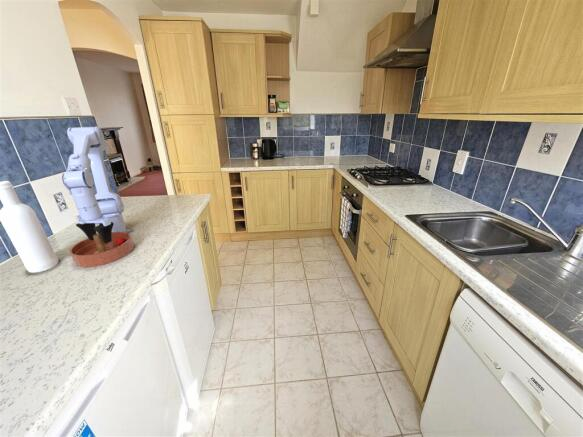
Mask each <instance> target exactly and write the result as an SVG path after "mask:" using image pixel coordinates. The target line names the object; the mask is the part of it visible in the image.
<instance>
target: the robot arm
mask: <svg viewBox="0 0 583 437" xmlns="http://www.w3.org/2000/svg"><path fill="white" fill-rule="evenodd" d="M66 134H67V138H68V139H69V142H71V144H72V145H73V154H70V155H69V157H68V160H67V161H68V162H67V168H66V169H67V170H66V171H65V172H64V173H62V174H61V181H62V184H63V186H64V188H65V189H66V190H67V192H68V194H69V195H70V196H71V197H72V199H73V201H74V204H75V207H76V209H77V211H78V214H79V215H76V216H75V219H76V221H77V222H78V223H76V224H75V226H76V227H77V228H78V229H80V230H81V231H82V232H83V233H84V234H85V235H86V237H87V238H89V239H90V240H91V241H92V240H94V238H93V235H95V234H99V235H100V236H101V238H102V240H103V242H104V243H105V244H107V243H109V242H111V241H112V232H126V233H129V232H130V231H132V229H130V228H127V227H126V224H125V220H124V217H123V212H124V211H125V207H124V206H125V204H124V202H123V200H122V197H121V195H119V194H118V193H116V192H114V191H112V190H111V189H112V188H111V185H110V181H109V176H108V172H107V168H106V164H105V160H104V154H103V152H104V151H105V150H107V143H106V139H105V135H104V132H103V130H102V129H101V127H99V126H84V127H83V126H82V127H79V126H78V127H71V126H70V127H68V128H67V130H66ZM93 186H95V190H96V194H95V191H94V188H93ZM96 224H97V225H96Z"/></svg>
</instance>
